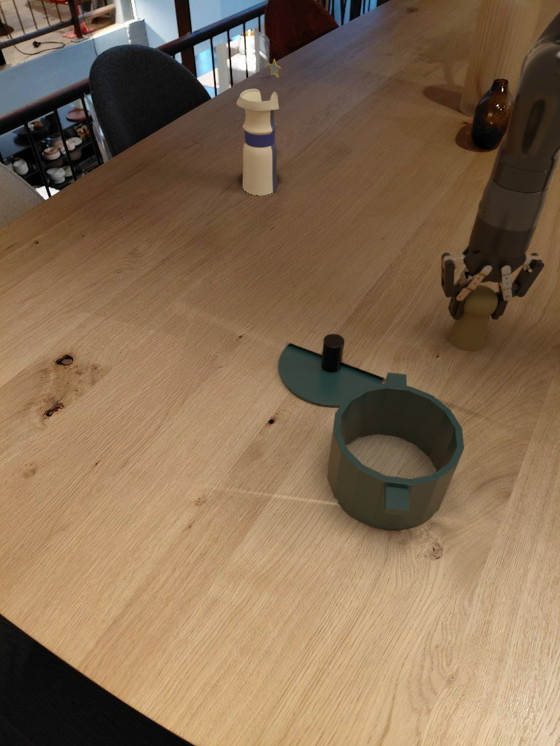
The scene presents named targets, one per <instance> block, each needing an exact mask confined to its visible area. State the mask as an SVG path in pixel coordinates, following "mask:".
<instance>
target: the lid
mask: <svg viewBox="0 0 560 746" xmlns="http://www.w3.org/2000/svg"><path fill="white" fill-rule="evenodd" d="M345 342H346V341H345V338H344V337H343V336H342V335H340V334H337V333H329V334H327V335H325V336H324V337H323V341H322V349H321V353H318V352H316V351H313V350H310V349H307V348H305V347H302V346H299V345H297V344H294V343H291V342H289V343H288V344H287V345H285V347H284V349H283V350H282V352H281V354H280V356H279V360H278V364H277V365H278V366H277V367H278V374H279V377H280V379H281V382H282V383H283V385H284V387H286V388H287V390H288V391H289V392H290V393H292V394H293V395H294V396H296V397H297V398H299V399H300V400H302V401H304V402H307V403H309V404H312V405H316V406H319V407H320V406H321V407H326V408H339V407H340V405H341V404H342V403H343V401H344V400H345V398H346V397H348V396H350V395H351V394H353V393H355V392H357V391H358V390H360V389H362V388H364V387H368V386H373V385H379V384H383V380H384V377H383V376H380V375H377V374H375V373H372V372H369V371H366V370H364V369H361V368H359V367H356V366H353V365H350V364H348V363H345V362H343V357H344V349H345Z"/></svg>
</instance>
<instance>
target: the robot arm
mask: <svg viewBox="0 0 560 746" xmlns="http://www.w3.org/2000/svg"><path fill="white" fill-rule="evenodd" d="M559 162H560V11H558V12H557V13H556V15H555V16H554V17H553V18H552V19H551V21H549V23H548V24H547V25H546V27H544V29H543V30H542V31H541V33H540V34H539V35H538V36H537V38H536V39H535V40H534V42H533V43H532V44H531V46H530V47H529V49H528V50H527V52H526V54H525V56H524V59H523V61H522V63H521V69H520V75H519V81H518V85H517V89H516V94H515V98H514V102H513V105H512V109H511V112H510V117H509V121H508V125H507V128H506V132H505V133H504V134H503V136H502V138H501V140H500V143H499V145H498V147H497V152H496V155H495V159H494V161H493V164H492V168H491V172H490V175H489V178H488V181H486V182H487V183H486V184H485V187H484V190H483V192H482V195H481V199H480V200H479V203H478V207H477V212H476V215H475V219H474V223H473V225H472V228H471V232H470V235H469V241H468V245H467V247H466V248H465V249H464V250H463V251H462V253H459V254H455V255H454V254H453V255H451V253H450V252H443V253H442V254H441V259H440V261H441V263H440V270H441V271H440V286H441V289H442V291H443V294H444V296H445V297H446V298H450V300H449V303H448V307H447V310H448V312H449V315H450V317H452V320H454V321H455V320H459V318H460V315H461V312H462V308H463V305H464V302H465V300H464V299H465V297H466V296H467V295H468V294H469V292H470V291H471V290H474V289H475V288H476V287H477V286H478V285H480V284H481V283H483V284H484V283H487V282H492V283H497V288H498V291H495V293H496V294H497V297H498V304H497V307H496V309H495V311H494V312H493V313H492V314H491V315H490V316H489V317H490V318H491V320H493V321H498V320H499V318H500V317H502V316H503V315H504V313H505V311H506V308H507V306H508V303H509V301H511V300H512V298H514V297H518V298H523V297H525V296H526V294H527V293H528V292H529V290H530V288H531V287H532V286H533V284H534V282H535V281H536V279H537V278H538V277H539V275H540V273H541V272H542V271H543V269H544V267H545V263H544V261H543V260H542V258H541V256H540V255H539V254H538V252H533V253H531V254H526V253H527V252H528V250H529V247H530V245H531V243H532V240H533V237H534V234H535V232H536V229H537V226H538V224H539V221H540V218H541V217H542V213H543V211H544V208H545V206H546V205H545V204H546V202H547V197H548V193H549V190H550V187H551V183H552V180H553V178H554V176H555V173H556V170H557V167H558V165H559ZM463 264H464V266H465V267H464V268H463V270H462V271H461V272H460V274H459V278H458V279H457V280H456V282H455V273H458V270H459V269H460V266H461V265H463ZM519 268H520V270H519V271H518V273H517V275H516V276H515V278H514V279H513V280H512V274H513V273H515V272H516V271H517V270H518V269H519Z"/></svg>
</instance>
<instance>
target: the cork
mask: <svg viewBox="0 0 560 746" xmlns="http://www.w3.org/2000/svg"><path fill="white" fill-rule="evenodd" d="M495 292H496V291H495V289H493V288H491V287H489V286H486V285H483V284H479V285H478V286H477V287H476V288H475V289H474V290H471V291H470V292H469V294H468V295H467V296H466V297H465V299H464V300H465V302H464V305H463V308H462V312H461V315H460V318H459V320H454V321H453V323H452V326H451V328H450V329H449V332H448V334H447V338H448V341H449V343H450V344H451V345H452V346H454V348H456V349H458V350H461V351H464V352H477V351H480V350H481V349H482V348H484V346H485V343H486V339H487V332H488V328H489V321H490V317H491V316H490V315H491V314H492V313H493V312H494V311H495V309H496V307H497V304H498V297H497V294H496V293H495Z"/></svg>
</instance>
